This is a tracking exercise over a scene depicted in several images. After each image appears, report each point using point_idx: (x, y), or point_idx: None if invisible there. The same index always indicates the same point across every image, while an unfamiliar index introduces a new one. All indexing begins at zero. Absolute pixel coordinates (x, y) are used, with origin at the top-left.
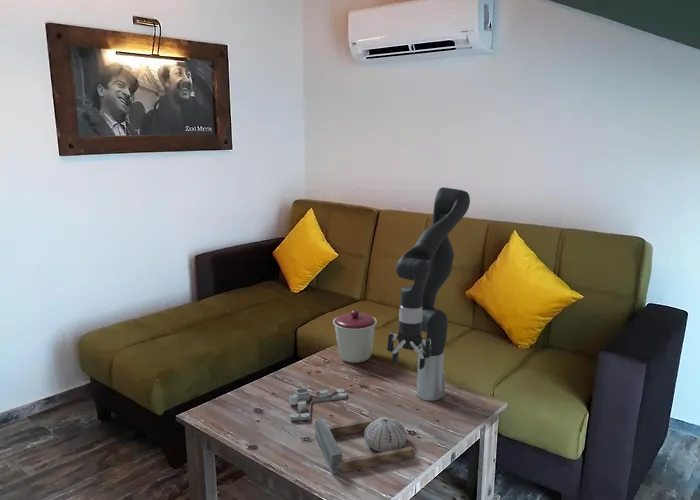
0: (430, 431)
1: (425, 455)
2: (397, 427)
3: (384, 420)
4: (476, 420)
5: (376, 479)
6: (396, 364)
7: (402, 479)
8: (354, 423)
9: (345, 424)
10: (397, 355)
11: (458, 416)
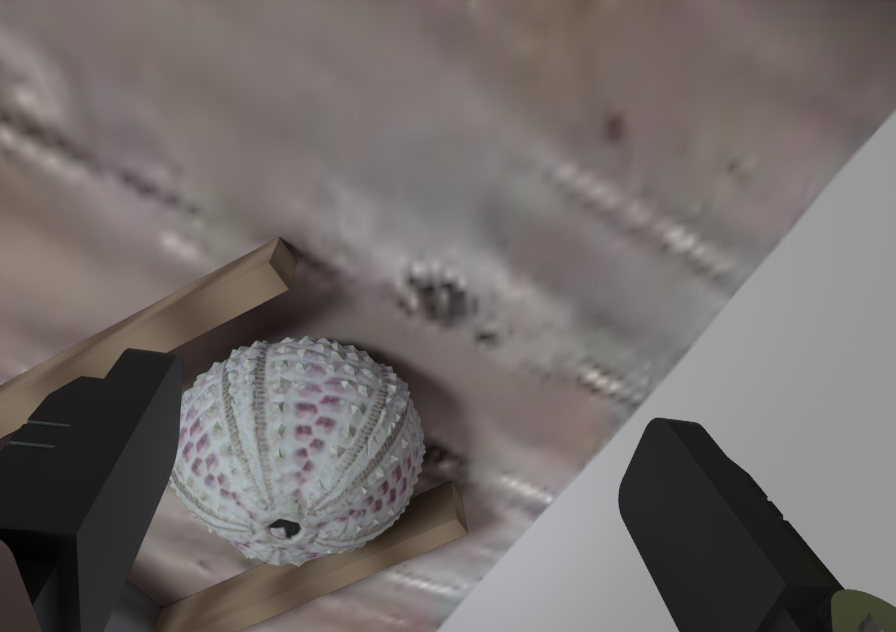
0: (555, 270)
1: (519, 467)
2: (373, 522)
3: (278, 524)
4: (889, 79)
5: (327, 621)
6: (176, 440)
7: (428, 602)
8: None
9: (5, 413)
10: (105, 558)
11: (778, 39)
